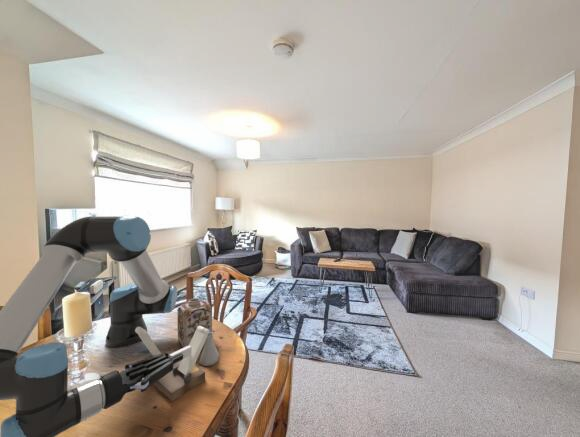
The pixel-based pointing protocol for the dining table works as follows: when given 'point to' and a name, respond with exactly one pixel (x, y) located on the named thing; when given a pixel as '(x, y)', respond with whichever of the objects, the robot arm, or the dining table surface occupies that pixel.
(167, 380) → the switch panel
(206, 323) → the decorative jar
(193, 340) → the switch
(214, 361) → the flask
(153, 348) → the switch
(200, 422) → the dining table surface
